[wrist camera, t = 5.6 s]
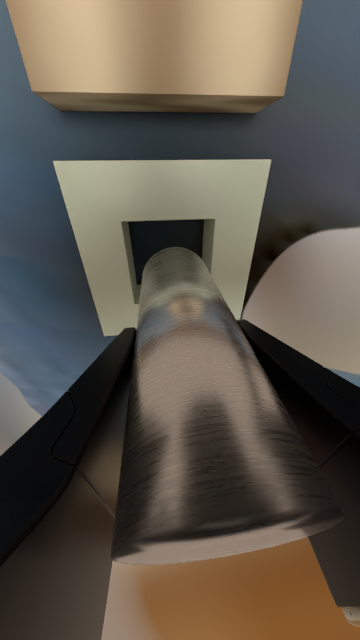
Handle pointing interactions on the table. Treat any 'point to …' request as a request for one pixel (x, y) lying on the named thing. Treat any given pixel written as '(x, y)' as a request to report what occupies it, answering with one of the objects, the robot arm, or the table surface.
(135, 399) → the silver flared cylinder
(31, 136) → the table surface
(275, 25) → the socket block
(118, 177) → the square block with hole
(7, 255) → the table surface
